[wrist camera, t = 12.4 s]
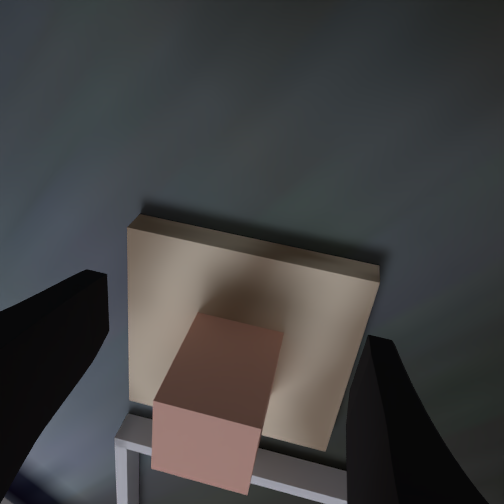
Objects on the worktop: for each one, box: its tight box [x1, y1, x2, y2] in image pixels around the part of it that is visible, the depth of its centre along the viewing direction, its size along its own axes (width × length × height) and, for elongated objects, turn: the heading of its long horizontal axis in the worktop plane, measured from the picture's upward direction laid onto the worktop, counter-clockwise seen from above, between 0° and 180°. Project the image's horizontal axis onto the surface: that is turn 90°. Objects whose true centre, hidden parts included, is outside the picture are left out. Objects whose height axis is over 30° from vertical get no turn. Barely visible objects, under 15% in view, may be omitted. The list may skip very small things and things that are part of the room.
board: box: [127, 214, 380, 451], centre depth 26 cm, size 12×12×2 cm
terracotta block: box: [151, 312, 284, 495], centre depth 23 cm, size 4×4×6 cm
